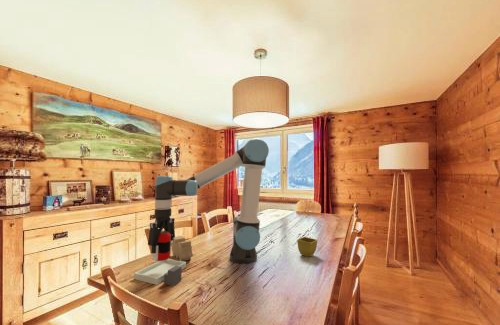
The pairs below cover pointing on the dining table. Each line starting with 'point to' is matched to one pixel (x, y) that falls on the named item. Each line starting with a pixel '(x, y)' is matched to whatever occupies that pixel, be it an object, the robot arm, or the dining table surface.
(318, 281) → the dining table surface
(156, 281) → the tray
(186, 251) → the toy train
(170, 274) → the dark grey block
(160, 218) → the robot arm
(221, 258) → the dining table surface
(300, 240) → the flower pot
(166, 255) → the soda can
